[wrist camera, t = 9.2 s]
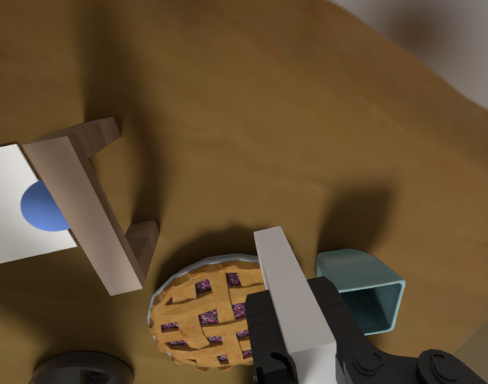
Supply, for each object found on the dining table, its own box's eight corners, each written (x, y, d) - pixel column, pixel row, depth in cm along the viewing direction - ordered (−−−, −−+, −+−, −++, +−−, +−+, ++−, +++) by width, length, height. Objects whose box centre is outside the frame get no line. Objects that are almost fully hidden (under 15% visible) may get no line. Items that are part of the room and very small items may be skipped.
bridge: (136, 237, 31) (110, 295, 23) (83, 122, 25) (22, 145, 17) (159, 232, 31) (142, 288, 23) (113, 116, 25) (67, 135, 17)
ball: (99, 208, 30) (46, 224, 28) (78, 165, 27) (20, 180, 26) (94, 229, 25) (30, 250, 23) (68, 179, 23) (-5, 198, 21)
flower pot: (304, 242, 35) (333, 292, 27) (363, 234, 36) (408, 280, 28) (302, 288, 39) (327, 343, 31) (355, 279, 40) (393, 331, 32)
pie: (303, 325, 43) (314, 354, 39) (182, 360, 43) (179, 393, 38) (281, 224, 34) (292, 247, 29) (126, 268, 33) (113, 298, 29)
